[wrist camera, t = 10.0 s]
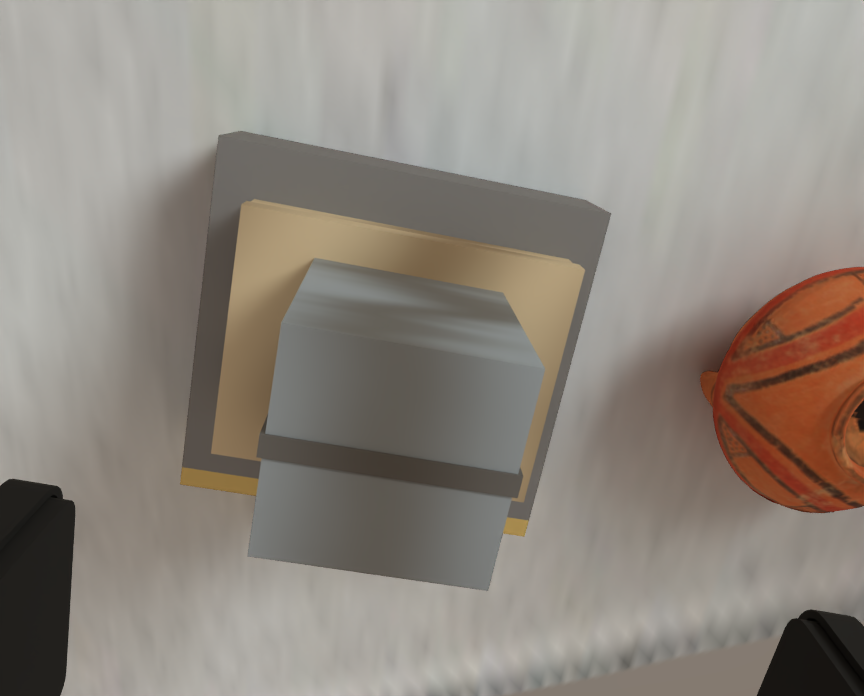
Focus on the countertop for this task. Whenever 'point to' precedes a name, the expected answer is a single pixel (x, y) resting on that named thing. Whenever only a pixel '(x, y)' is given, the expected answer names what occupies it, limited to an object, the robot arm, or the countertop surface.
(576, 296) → the grey and tan block
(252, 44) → the countertop surface
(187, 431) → the dock
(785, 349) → the pot
